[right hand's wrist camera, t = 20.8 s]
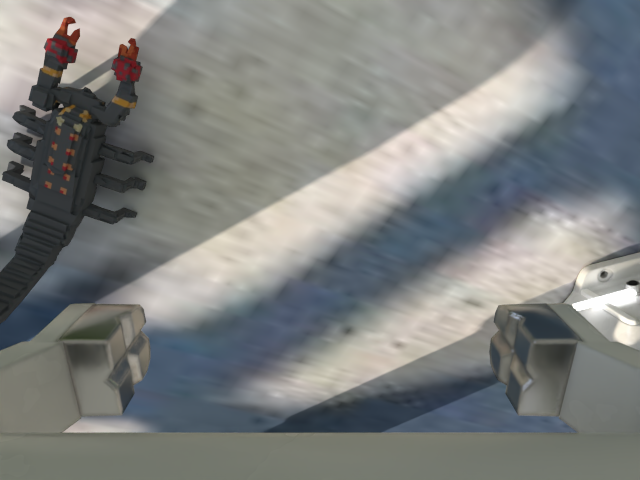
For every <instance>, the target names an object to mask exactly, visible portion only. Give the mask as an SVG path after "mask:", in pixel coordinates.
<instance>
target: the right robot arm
mask: <svg viewBox="0 0 640 480" xmlns="http://www.w3.org/2000/svg"><path fill="white" fill-rule="evenodd" d="M602 272H604V273H603V274H602V275H600V274H601V273H602ZM145 323H146V319H145V314H144V309H143V308H142V307H141V306H140V305H139V304H95V303H85V304H70V305H69V306H68V307H67V308H66V309H65V310H63V311H62V312H61V313H60V314H59V315H58V316H57V317H56V318H55V319H54V320H53V321H52V322H50V323H49V324H48V325H47V326H46V327H45V328H44V329H43V330H42V331H41V332H40V333H39V334H37V335H36V336H35V337H34V338H33V339H32V340H31V341H30V342H20V343H18V344H15V345H13V346H11V347H8V348H6V349H3V350H1V351H0V480H640V252H638V253H635V254H631V255H627V256H623V257H619V258H615V259H611V260H607V261H603V262H599V263H595V264H591V265H588V266H586V267H584V268H583V269H582V270H581V272H580V273H579V275H578V277H577V280H576V283H575V286H574V289H573V291H572V293H571V294H570V296H569V297H568V298H567V299H566V300H565V302H564V303H557V304H511V305H499V306H498V308H497V310H496V312H495V318H494V323H495V324H496V326H497V327H498V329H499V331H498V332H497V333H496V334H495V335H494V336H493V337H492V338H491V343H490V362H491V366H492V369H493V372H494V374H495V376H496V378H497V380H499V381H501V382H502V383H504V384H505V385H507V387H506V393H505V394H506V395H507V397H508V399H509V400H510V402H511V404H512V405H513V407H514V409H515V411H516V412H517V414H518V415H527V416H559V419H561V420H562V421H564V422H565V423H566V424H568V425H569V426H570V427H572V428H573V429H574V430H576V431H577V432H578V433H62V432H63V431H65V430H66V429H67V428H69V427H70V426H71V425H73V424H74V423H75V422H77V421H78V420H79V419H81V416H112V415H122V414H123V412H124V411H125V409H126V407H127V406H128V404H129V402H130V400H131V399H132V397H133V395H134V394H135V393H134V387H133V385H135V384H136V383H138V382H139V381H141V380H143V378H144V376H145V374H146V372H147V370H148V365H149V361H150V343H149V338H148V337H147V336H146V335H145V334H144V333H143V332H142V331H141V329H142V328H143V326H144V324H145Z"/></svg>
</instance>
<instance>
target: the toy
mask: <svg viewBox="0 0 640 480" xmlns="http://www.w3.org/2000/svg"><path fill="white" fill-rule="evenodd" d="M73 23H76V22H75V19H73V18H72V17H67V18H64V20H63V22H62V24H61V27H60V29H59V30H58V31H57V32H56V33H55V35H54V37H53V38H48V39H47V41H46V43H45V46H44V49H45V50H46V53H45V60H44V67H43V68H40V72H39V77H38V82H37V85H34V86H32V88H31V92H30V96H29V100H30V101H32V102H33V104H32V105H33V106H35V107H37V108H39V109H41V110H44V111H46V112H47V111H49V110H52V114H51V119H50V120H49V121H45V120H43V119H41V118H38V117H36V116H35V113H36V111H35V110H34V109H31V108H29V107H27V106H24V105H20V111H18V112H15V113H14V115H13V117H12V118H13V119H14V120H15V121H16V122H18V123H19V124H20V125H22V126H25V127H27V128H29V129H31V130H33V131H36V132H38V133H40V134H42V135H43V139H42V140H38V141H37V145H36V147H34V146H32V145H30V144H31V143H32V138H31V137H28V136H26V135H23V134H21V133H18V132H17V133H14V136H13V139H11V140H8V143H7V147H8V148H9V149H10V150H11V151H13V152H14V153H16V154H18V155H21V156H23V157H25V158H27V159H29V160H32V161H34V163H33V169H32V175H31V180H30V178H28V177H25V176H23V175H21V173H23V171H24V170H23V168H24V165H21V164H19V163H16V162H14V161H11V162H9V164H8V169H7V171H5V172H3V174H2V175H3V177H2V180H3V181H6V182H8V183H11V184H13V185H14V186H16V187H18V188H20V189H22V190H25V191H27V192H29V201H28V204H27V209H29V210H31V212H30V213H29V215H28V217H27V219H26V222H25V224H24V227H23V233H22V235H21V236H20V238H19V241H18V243H17V246H16V248H15V251H16V254H15V256H14V257H13V258H12V260H11V261H10V262H9V263H8V264H7V265H6V266H5V267H4V268H3V270H2V271H1V272H0V324H1V323H2V322H3V321H5V320H6V319H7V318H8V316H9V315H10V314H11V313H12V312H13V311H14V309H15V308H16V307H17V306H18V305H19V304H20V303H21V302H22V300H23V299H24V298H25V297H26V295H27V294H28V293H29V292H30V290H31V289H32V288H33V287H34V285H35V284H36V283H37V282H38V281H39V279H40V278H41V277H42V276H43V275H44V273H45V272H46V271H47V269H48V268H49V267H50V266H51V265H53V264H54V261H56V258H57V255H59V252H60V251H61V250H62V248H63V247H65V246H67V245H68V244H69V243H70V241H71V240H72V238H73V236H74V233H75V231H76V228H77V227H78V226H79V224H80V223H81V221H82V219H83V217H84V216H88V217H91V218H94V219H97V220H100V221H103V222H107V223H110V224H114V223H117V222H118V221H120V220H121V219H122V218H124V217H131V218H135V217H136V214H137V213H136V212H133V211H131V210H128V209H126V208H122V209H120V210H118V211H115V212H114V211H110V210H107V209H104V208H101V207H98V206H96V205H94V204H91V203H92V202H93V199H94V196H95V193H96V189H97V187H96V186H97V184H98V185H100V186H103V187H106V188H109V189H112V190H115V191H118V192H121V193H124V192H125V191H127V190H128V189H129V188H137V189H140V190H144V188H145V185H146V181H143V180H141V179H138V178H134V179H132V178H129V179H128V180H126V181H122V180H119V179H116V178H113V177H110V176H108V175H103V174H101V171H102V167H103V163H104V159H103V158H101V157H100V155H103V156H105V157H108V158H111V159H113V160H116V161H119V162H123V163H127V164H134V163H136V162H138V161H140V160H144V161H147V162H150V163H151V162H153V158H154V156H151V155H149V154H147V153H144V152H142V151H138V152H134V153H133V152H131V151H128V150H125V149H122V148H119V147H116V146H113V145H109V144H106V143H105V140H106V136H105V135H104V134H105V130H106V127H107V126H109V127H116V126H117V125H120V120H125V118H126V115H129V112H130V108H135V106H136V102H137V98H138V96H137V95H135V88H134V83H135V81H137V82H138V81H139V78H140V74H141V71H142V68H143V67H142V66H140V62H138V61H136V59H137V55H138V50H139V48H138V47H136V41H135V39H132V38H131V39H130V40H129V41H128V42H129V43H130V44H131V46H130V48H129V50H128V49H127V46H125V45H123V44H121V45H120V47H119V53H118V57H117V58H115V59H114V61H113V64H112V68H111V69H112V70H114V71H115V73H114V75H116V76H117V78H116V80H120V81H121V82H120V86H119V89H118V92H117V94H116V95H115V97H114V98H113V99H112V101H111V102H110V103H109V104H108V105H107V107H105V102H104V101H101V100H99V99H97V97H96V96H95V95H94V94H93V93H92V91H91V90H90V89H88V88H86V87H85V88H84V89H75V88H71V87H66V88H60V87H57V86H58V83H59V84H60V81H61V77H62V73H63V69H67V65H68V63H75V61H76V56H77V52H78V49H75V45H76V42H77V40H78V39H79V37H80V28H79V29H77V30H75V31H74V32H73V33H72V35H71V36H68V35H67V29H68V24H73ZM60 104H63V106H64V107H63V108H58V106H59V105H60ZM98 120H99V121H101V122H99V121H98Z"/></svg>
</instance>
